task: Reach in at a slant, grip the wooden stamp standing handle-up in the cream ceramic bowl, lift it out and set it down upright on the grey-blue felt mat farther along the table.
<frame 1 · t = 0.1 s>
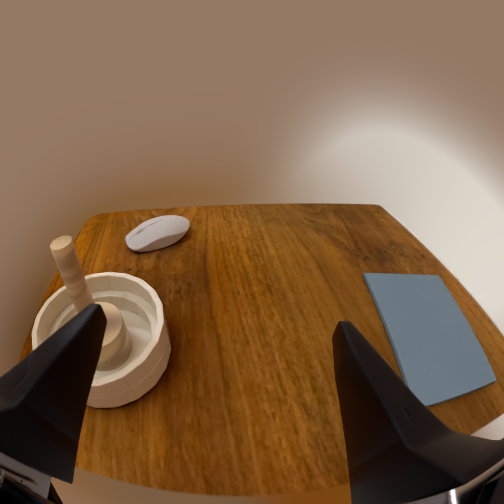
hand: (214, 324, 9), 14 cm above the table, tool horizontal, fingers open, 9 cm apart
wooden stamp: (105, 347, 22), resting on bowl
bowl: (107, 350, 23), on the table
computer mouse: (158, 240, 39), on the table
mat: (431, 328, 27), on the table
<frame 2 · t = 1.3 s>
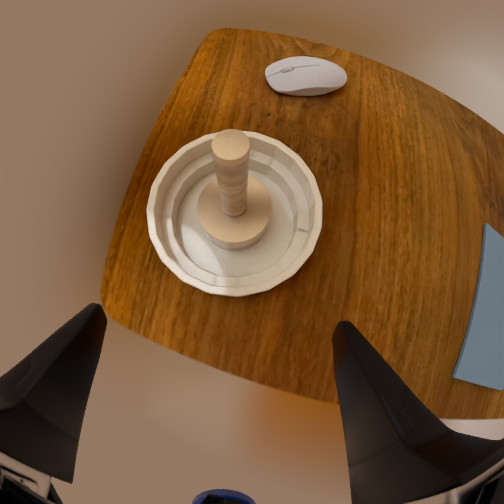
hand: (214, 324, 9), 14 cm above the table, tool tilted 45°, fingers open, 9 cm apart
wooden stamp: (234, 219, 24), resting on bowl
bowl: (235, 221, 24), on the table
computer mouse: (304, 82, 28), on the table
mat: (499, 312, 24), on the table
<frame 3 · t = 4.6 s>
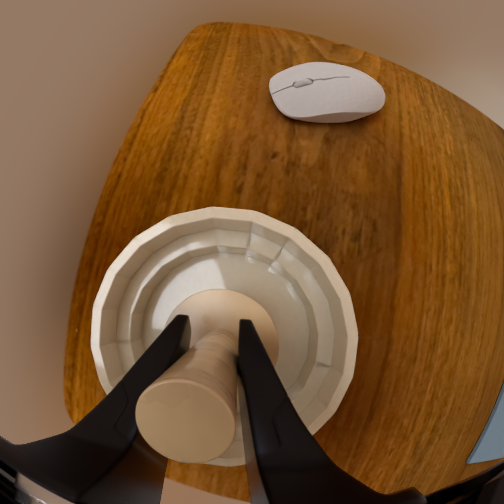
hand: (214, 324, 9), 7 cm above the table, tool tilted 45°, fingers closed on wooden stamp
wooden stamp: (223, 337, 16), point 1 cm above the table, touching bowl, gripper
bowl: (224, 336, 16), on the table
computer mouse: (326, 101, 20), on the table
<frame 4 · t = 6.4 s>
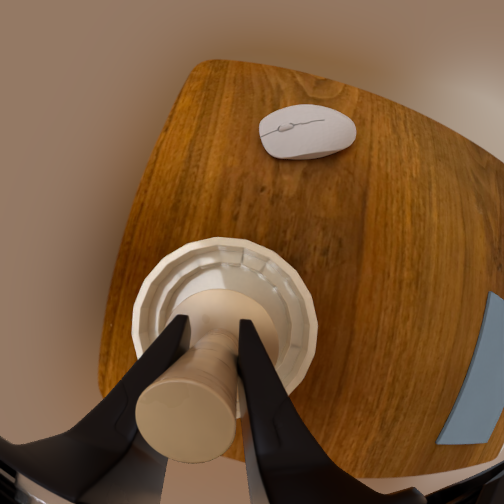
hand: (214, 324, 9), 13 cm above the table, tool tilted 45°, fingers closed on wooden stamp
wooden stamp: (223, 337, 16), point 7 cm above the table, touching gripper
bowl: (225, 326, 22), on the table
computer mouse: (306, 138, 26), on the table
mat: (492, 376, 22), on the table
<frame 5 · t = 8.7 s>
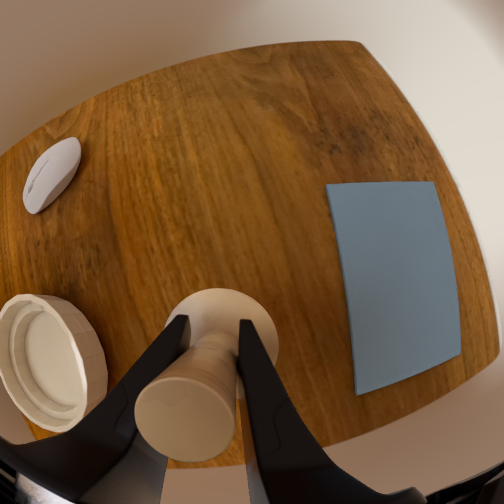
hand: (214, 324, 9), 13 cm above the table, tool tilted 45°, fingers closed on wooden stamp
wooden stamp: (223, 337, 16), point 7 cm above the table, touching gripper
bowl: (58, 359, 21), on the table
computer mouse: (56, 178, 24), on the table
mat: (406, 278, 24), on the table
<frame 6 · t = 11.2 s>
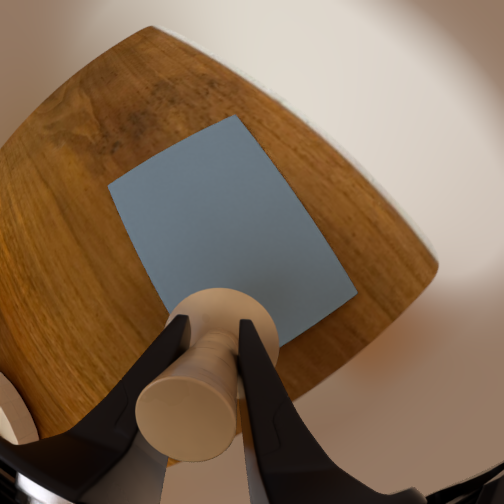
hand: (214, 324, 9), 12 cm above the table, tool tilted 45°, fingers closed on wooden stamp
wooden stamp: (224, 337, 16), point 6 cm above the table, touching gripper
bowl: (7, 415, 17), on the table
mat: (223, 236, 22), on the table
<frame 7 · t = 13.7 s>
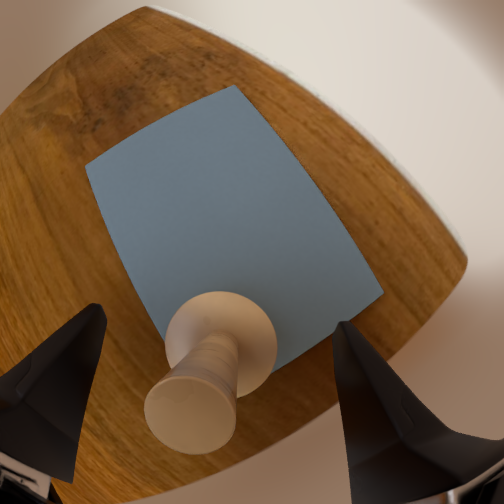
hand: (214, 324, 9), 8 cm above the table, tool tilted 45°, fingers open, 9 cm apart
wooden stamp: (224, 338, 16), point 1 cm above the table, touching mat
mat: (219, 223, 18), on the table
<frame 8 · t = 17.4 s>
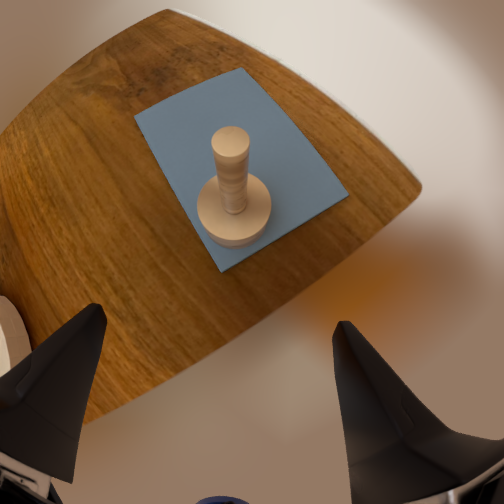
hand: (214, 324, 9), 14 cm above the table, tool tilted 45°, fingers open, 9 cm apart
wooden stamp: (234, 217, 24), point 1 cm above the table, touching mat
bowl: (3, 347, 20), on the table
mat: (232, 148, 26), on the table
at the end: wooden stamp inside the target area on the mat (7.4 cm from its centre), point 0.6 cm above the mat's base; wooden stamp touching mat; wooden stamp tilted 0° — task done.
